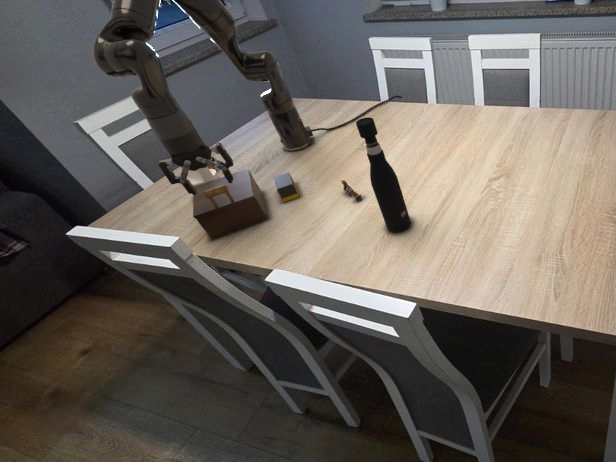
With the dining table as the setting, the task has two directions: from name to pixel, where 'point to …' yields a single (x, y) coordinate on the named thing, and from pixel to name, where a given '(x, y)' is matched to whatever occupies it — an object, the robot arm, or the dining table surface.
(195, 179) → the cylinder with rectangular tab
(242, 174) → the case lid
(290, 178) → the duster
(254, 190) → the case
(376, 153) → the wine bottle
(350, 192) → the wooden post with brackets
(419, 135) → the dining table surface
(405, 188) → the dining table surface
